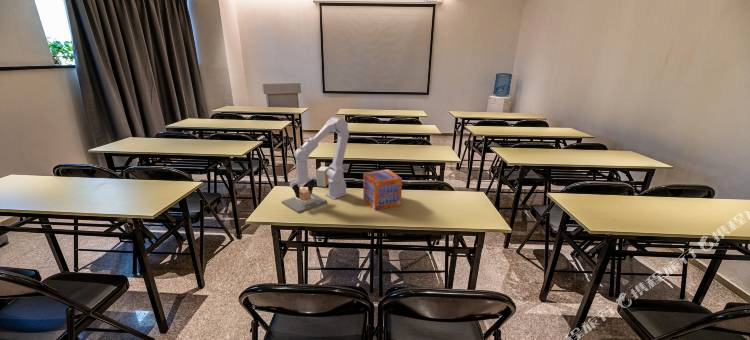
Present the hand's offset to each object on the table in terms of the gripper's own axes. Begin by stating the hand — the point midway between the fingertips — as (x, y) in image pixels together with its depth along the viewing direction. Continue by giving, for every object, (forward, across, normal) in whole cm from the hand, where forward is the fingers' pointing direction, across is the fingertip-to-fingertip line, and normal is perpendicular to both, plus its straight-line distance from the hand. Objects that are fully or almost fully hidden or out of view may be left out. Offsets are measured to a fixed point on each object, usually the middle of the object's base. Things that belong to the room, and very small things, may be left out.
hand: (304, 195), depth 163 cm
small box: (+4, -23, -14) cm, 27 cm away
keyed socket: (+4, 0, 0) cm, 4 cm away
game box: (+4, -31, +28) cm, 42 cm away
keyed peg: (+3, 0, 0) cm, 3 cm away
